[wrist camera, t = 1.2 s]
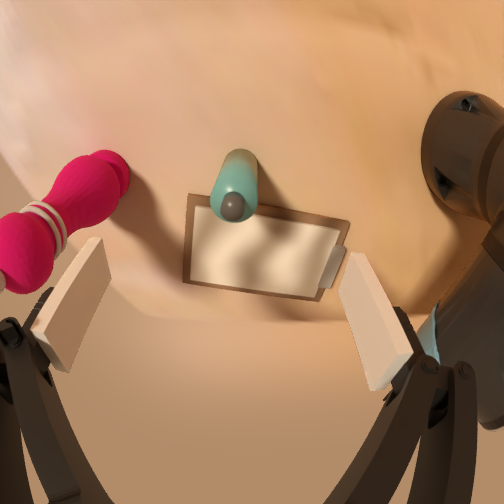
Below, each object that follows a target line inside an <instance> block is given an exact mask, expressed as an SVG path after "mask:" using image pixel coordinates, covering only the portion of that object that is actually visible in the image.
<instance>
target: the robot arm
mask: <svg viewBox="0 0 504 504" xmlns="http://www.w3.org/2000/svg"><path fill="white" fill-rule="evenodd" d="M421 160H422V167H423V172H424V176H425V178H426V181H427V183H428V185H429V187H430V189H431V190H432V192H433V193H434V194H435V196H436V197H437V198H438V199H440V200H441V201H442V202H443V203H444V204H445V205H447V206H448V207H449V208H451V209H452V210H454V211H456V212H458V213H462V214H465V215H468V216H472V217H475V218H478V219H482V220H485V221H487V222H488V223H489V224H490V225H492V227H491V229H490V231H489V232H488V234H487V236H486V237H485V239H484V241H483V242H482V243H481V245H480V246H479V248H478V249H477V251H476V253H475V254H474V256H473V257H472V259H471V260H470V262H469V263H468V264H467V266H466V267H465V269H464V270H463V272H462V273H461V274H460V276H459V277H458V278H457V280H456V281H455V283H454V284H453V285H452V287H451V288H450V289H449V291H448V292H447V293H446V294H445V296H444V297H443V298H442V299H441V300H440V301H439V302H437V303H436V305H435V307H433V310H432V313H431V314H430V315H429V317H428V318H427V319H426V320H425V322H424V323H423V324H422V325H421V327H420V328H419V329H418V331H417V333H415V331H414V330H413V327H412V325H411V324H410V321H409V319H408V317H407V315H406V313H405V312H404V311H403V310H402V309H401V308H400V307H392V305H391V303H390V301H389V299H388V297H387V295H386V293H385V292H384V290H383V288H382V286H381V284H380V282H379V280H378V278H377V276H376V275H375V273H374V271H373V269H372V267H371V265H370V264H369V262H368V260H367V258H366V256H365V255H364V253H354V252H351V254H350V257H349V260H348V263H347V266H346V269H345V272H344V275H343V278H342V281H341V284H340V287H339V289H338V294H339V297H340V299H341V302H342V305H343V308H344V311H345V313H346V316H347V319H348V322H349V325H350V328H351V331H352V334H353V337H354V340H355V343H356V346H357V349H358V353H359V356H360V359H361V362H362V365H363V369H364V372H365V375H366V379H367V382H368V385H369V388H370V391H374V390H381V389H385V388H386V387H387V386H388V384H389V383H390V382H391V384H392V387H393V389H392V390H391V391H390V392H389V393H388V394H387V395H386V397H385V398H384V399H383V401H385V400H386V401H385V403H384V405H383V408H382V410H381V412H380V413H379V415H378V417H377V419H376V421H375V423H374V425H373V427H372V429H371V431H370V432H369V434H368V436H367V438H366V440H365V441H364V443H363V445H362V447H361V448H360V450H359V452H358V453H357V455H356V457H355V458H354V460H353V461H352V463H351V465H350V466H349V468H348V469H347V471H346V472H345V474H344V475H343V477H342V478H341V480H340V481H339V483H338V484H337V485H336V487H335V489H334V490H333V491H332V492H331V494H330V495H329V497H328V498H327V499H326V501H325V502H324V503H323V504H388V503H389V501H390V500H391V497H392V496H393V494H394V492H395V490H396V489H397V487H398V485H399V483H400V481H401V479H402V477H403V475H404V473H405V471H406V468H407V466H408V464H409V462H410V460H411V457H412V455H413V452H414V450H415V448H416V445H417V443H418V441H419V438H420V436H421V438H420V445H419V451H418V457H417V462H416V467H415V472H414V477H413V481H412V486H411V490H410V494H409V498H408V501H407V504H470V502H471V496H472V490H473V483H474V475H475V466H476V453H477V424H478V423H477V422H479V423H480V424H481V425H482V427H483V428H484V429H485V430H487V431H490V432H496V431H499V430H503V429H504V108H503V107H502V106H500V105H499V104H498V103H497V102H495V101H494V100H492V99H491V98H489V97H487V96H485V95H483V94H479V93H475V92H470V91H458V92H454V93H452V94H450V95H448V96H446V97H445V98H443V99H442V100H441V101H440V102H439V103H438V104H437V105H436V107H435V108H434V109H433V111H432V112H431V114H430V116H429V118H428V120H427V123H426V126H425V129H424V133H423V138H422V146H421ZM111 279H112V278H111V274H110V270H109V266H108V262H107V258H106V253H105V249H104V244H103V240H102V238H96V237H90V238H89V239H88V241H87V242H86V243H85V245H84V246H83V247H82V249H81V250H80V252H79V253H78V254H77V256H76V257H75V259H74V260H73V262H72V263H71V264H70V266H69V267H68V269H67V270H66V272H65V273H64V274H63V276H62V277H61V279H60V280H59V282H58V284H57V285H56V286H55V287H50V288H49V289H47V290H46V291H45V292H44V293H43V294H42V295H41V297H40V299H39V300H38V303H36V305H35V306H34V309H33V310H32V311H31V313H30V315H29V317H28V318H27V320H26V321H25V323H24V325H23V327H21V326H20V324H19V322H18V321H17V319H15V318H13V317H8V318H5V319H3V320H2V321H1V322H0V504H34V503H33V499H32V495H31V491H30V486H29V482H28V477H27V472H26V467H25V461H24V454H23V447H22V439H21V431H22V434H23V437H24V441H25V444H26V446H27V449H28V452H29V455H30V457H31V460H32V463H33V465H34V468H35V470H36V473H37V475H38V477H39V480H40V482H41V484H42V486H43V488H44V490H45V493H46V495H47V497H48V499H49V503H48V504H114V503H113V502H112V500H111V499H110V498H109V497H108V495H107V493H106V492H105V490H104V489H103V487H102V485H101V484H100V482H99V480H98V478H97V477H96V475H95V473H94V472H93V470H92V468H91V466H90V464H89V462H88V461H87V459H86V457H85V455H84V453H83V451H82V449H81V447H80V445H79V443H78V441H77V439H76V436H75V434H74V432H73V430H72V428H71V426H70V423H69V421H68V418H67V416H66V414H65V411H64V408H63V406H62V403H61V401H60V398H59V395H58V392H57V390H56V387H55V384H54V381H53V378H52V375H51V372H50V370H49V368H48V367H49V365H50V362H51V363H52V365H53V366H54V368H55V369H56V370H59V371H63V372H67V373H69V372H70V369H71V367H72V364H73V362H74V359H75V356H76V354H77V352H78V349H79V347H80V345H81V342H82V339H83V338H84V335H85V333H86V330H87V328H88V326H89V324H90V322H91V319H92V317H93V315H94V313H95V311H96V309H97V307H98V305H99V303H100V301H101V298H102V296H103V294H104V292H105V290H106V288H107V286H108V284H109V282H110V281H111ZM20 428H21V431H20Z"/></svg>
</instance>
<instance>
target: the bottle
mask: <svg viewBox="0 0 504 504" xmlns="http://www.w3.org/2000/svg"><path fill="white" fill-rule="evenodd" d="M257 204H258V164H257V159H256V157H255V156H254V154H253V153H251V152H250V151H248V150H246V149H236V150H233V151H231V152H230V153H229V154H228V155H227V156H226V158H225V160H224V163H223V165H222V168H221V170H220V173H219V175H218V178H217V180H216V183H215V185H214V188H213V191H212V193H211V197H210V205H211V208H212V210H213V212H214V213H215V215H216V216H217V217H219V218H220V219H222V220H224V221H226V222H230V223H239V222H243V221H245V220H247V219H249V218H250V217H251V216H252V215H253V214H254V212H255V211H256V208H257Z"/></svg>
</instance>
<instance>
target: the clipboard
mask: <svg viewBox="0 0 504 504" xmlns="http://www.w3.org/2000/svg"><path fill="white" fill-rule="evenodd" d="M210 197H211V196H204V195H197V194H190V193H189V194H188V198H187V211H186V225H185V242H184V263H183V283H188V284H194V285H200V286H207V287H213V288H219V289H226V290H233V291H240V292H246V293H253V294H261V295H268V296H275V297H283V298H291V299H299V300H307V301H315V302H319V300H320V298H321V295H322V293H323V291H324V288H327V289H330V287H331V285H332V283H333V280H334V278H335V276H336V273H337V271H338V268H339V266H340V264H341V261H342V259H343V256H344V254H345V251H346V248H345V246H342V244H343V241H344V238H345V236H346V233H347V230H348V228H349V225H350V223H349V221H346V220H341V219H336V218H331V217H326V216H321V215H316V214H311V213H306V212H300V211H295V210H290V209H284V208H278V207H273V206H267V205H261V204H257V208H256V211H255V212H254V214H253V215H252V216H251V217H250V218H249V219H247V220H245V221H243V222H239V223H230V222H226V221H224V220H222V219H220V218H219V217H217V216H216V215H215V213H214V212H213V210H212V208H211V205H210Z"/></svg>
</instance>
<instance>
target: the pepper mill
mask: <svg viewBox="0 0 504 504" xmlns="http://www.w3.org/2000/svg"><path fill="white" fill-rule="evenodd" d="M129 182H130V174H129V170H128V167H127V165H126V163H125V161H124V160H123V159H122V158H121V156H119V155H118V154H117V153H115V152H113V151H110V150H99V151H97V152H94V153H93V154H91V155H85V156H80V157H77V158H75V159H74V160H72V161H71V162H70V163H68V164H67V165H66V166H65V167H64V168H63V169H62V171H61V172H60V173H59V175H58V176H57V178H56V180H55V182H54V185H53V187H52V189H51V191H50V192H49V193H48V195H47V196H46V197H45V198H44V199H43V200H42V201H33V202H31V203H29V204H28V205H27V206H26V207H24V208H23V209H21V211H20V212H19V213H16V212H14V213H10V214H7V215H6V216H4V217H3V218H1V219H0V293H1V292H2V291H3V290H4V288H6V289H7V290H9V291H11V292H14V293H17V294H28V293H31V292H34V291H36V290H38V289H39V288H40V287H41V286H42V285H43V284H44V283H45V282H46V281H47V279H48V278H49V276H50V275H51V272H52V270H53V264H54V260H55V259H56V258H57V257H58V256H59V254H60V253H62V252H63V250H64V249H65V247H66V244H67V238H68V237H69V236H70V235H71V234H72V233H74V232H75V231H76V230H78V229H81V228H86V227H91V226H94V225H97V224H99V223H101V222H102V221H104V220H105V219H106V218H108V217H109V216H110V215H111V214H112V213H113V211H114V210H115V209H116V207H117V204H118V202H119V199H120V198H121V197H122V196H123V195H124V194H125V192H126V191H127V189H128V186H129Z"/></svg>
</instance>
